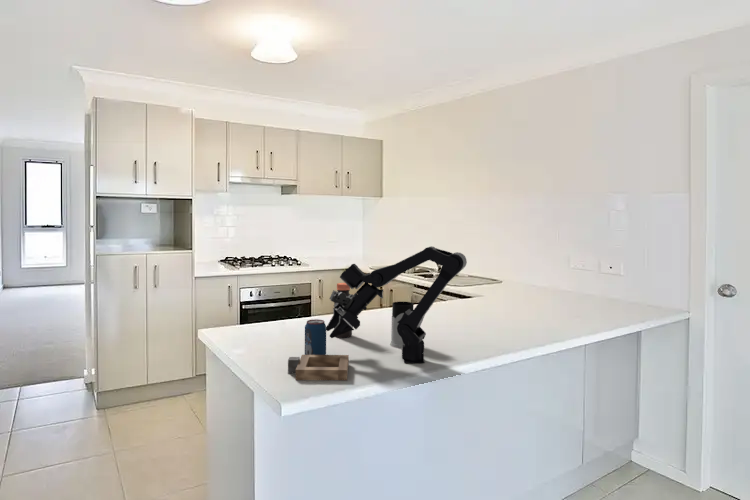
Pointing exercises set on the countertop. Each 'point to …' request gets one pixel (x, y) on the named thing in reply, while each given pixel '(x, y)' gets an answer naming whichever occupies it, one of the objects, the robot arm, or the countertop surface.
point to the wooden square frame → (319, 367)
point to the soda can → (315, 337)
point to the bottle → (340, 288)
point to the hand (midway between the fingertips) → (328, 333)
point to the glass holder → (397, 314)
